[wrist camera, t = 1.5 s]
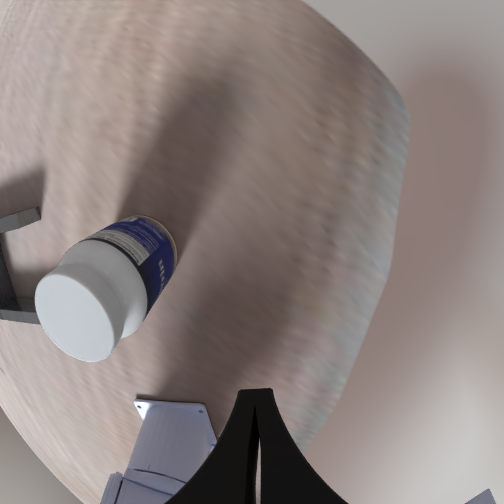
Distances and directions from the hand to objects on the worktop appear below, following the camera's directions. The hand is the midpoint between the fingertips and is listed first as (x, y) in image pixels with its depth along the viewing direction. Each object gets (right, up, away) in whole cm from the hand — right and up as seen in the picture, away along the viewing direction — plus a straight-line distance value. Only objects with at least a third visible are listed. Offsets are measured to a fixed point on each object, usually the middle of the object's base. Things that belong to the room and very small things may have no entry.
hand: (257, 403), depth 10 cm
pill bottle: (-8, +6, +9) cm, 14 cm away
